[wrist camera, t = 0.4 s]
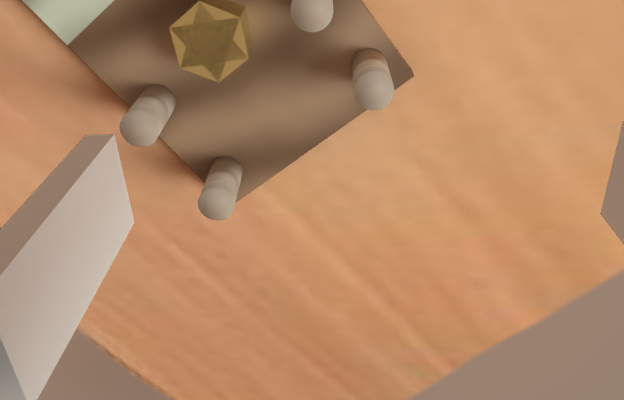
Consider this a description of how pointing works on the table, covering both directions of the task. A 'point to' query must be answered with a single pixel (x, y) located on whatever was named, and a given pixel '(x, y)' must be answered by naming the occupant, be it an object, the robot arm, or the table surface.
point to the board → (235, 82)
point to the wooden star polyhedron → (212, 38)
